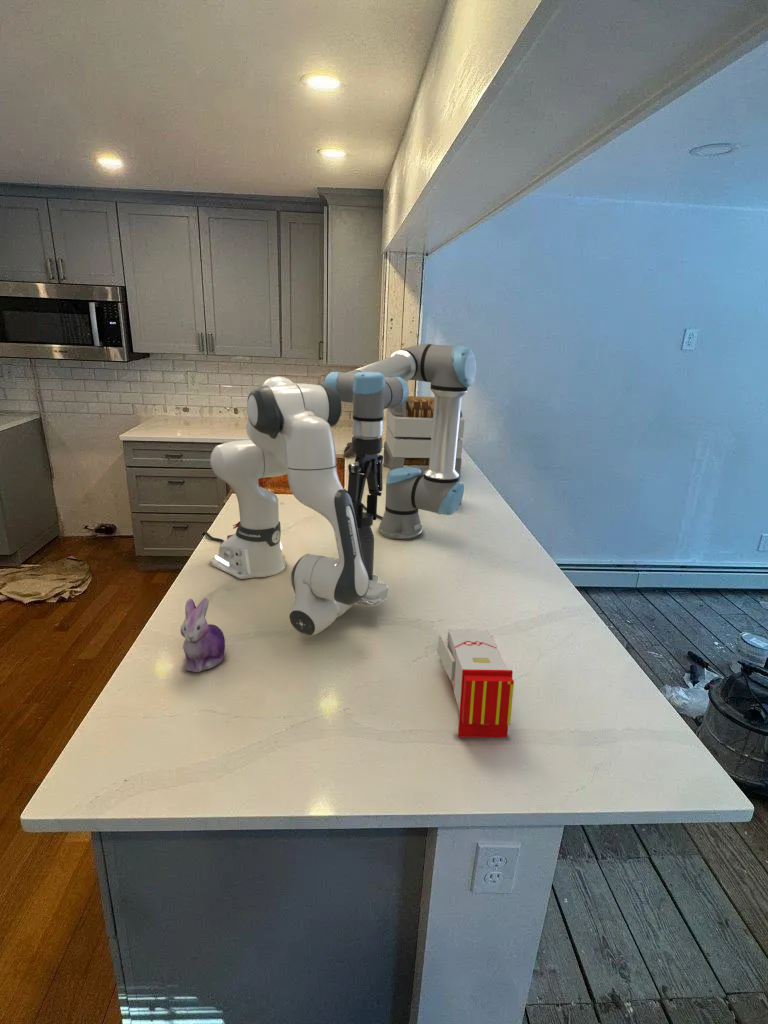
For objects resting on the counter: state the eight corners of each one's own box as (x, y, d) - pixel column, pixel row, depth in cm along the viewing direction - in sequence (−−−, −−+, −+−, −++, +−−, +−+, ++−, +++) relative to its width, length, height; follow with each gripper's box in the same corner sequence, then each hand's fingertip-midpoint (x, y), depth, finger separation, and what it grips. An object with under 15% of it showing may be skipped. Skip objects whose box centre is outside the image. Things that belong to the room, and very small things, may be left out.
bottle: (349, 592, 157) (351, 513, 149) (368, 590, 159) (371, 512, 151) (354, 602, 152) (357, 521, 144) (374, 600, 154) (377, 519, 146)
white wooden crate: (382, 463, 289) (386, 382, 275) (445, 464, 293) (451, 384, 279) (390, 482, 257) (394, 392, 243) (460, 483, 261) (468, 394, 247)
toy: (488, 613, 130) (523, 677, 101) (484, 667, 133) (517, 744, 104) (435, 612, 130) (455, 676, 101) (432, 666, 133) (451, 743, 103)
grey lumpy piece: (343, 440, 315) (365, 425, 310) (354, 454, 317) (375, 439, 312) (337, 454, 295) (359, 438, 290) (348, 468, 298) (371, 453, 293)
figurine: (186, 679, 118) (181, 616, 113) (179, 653, 127) (173, 593, 122) (232, 668, 122) (228, 607, 117) (221, 644, 131) (218, 585, 126)
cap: (358, 527, 146) (358, 518, 145) (354, 521, 150) (354, 512, 149) (374, 526, 147) (374, 517, 146) (370, 520, 151) (370, 511, 150)
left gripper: (374, 594, 137) (399, 573, 149) (304, 574, 146) (332, 555, 157) (373, 617, 139) (397, 594, 151) (304, 596, 148) (332, 576, 160)
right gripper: (373, 428, 150) (370, 509, 158) (332, 440, 134) (331, 531, 142) (398, 432, 147) (394, 515, 155) (359, 445, 131) (357, 537, 139)
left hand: (364, 574), depth 154 cm, fingers closed on bottle, 5 cm apart
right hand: (364, 522), depth 148 cm, fingers open, 7 cm apart
